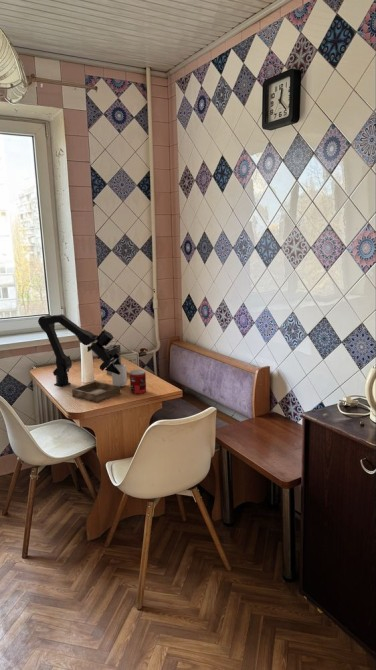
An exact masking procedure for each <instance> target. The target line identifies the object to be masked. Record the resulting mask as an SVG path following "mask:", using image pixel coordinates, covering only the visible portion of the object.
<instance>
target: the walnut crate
mask: <svg viewBox="0 0 376 670" xmlns="http://www.w3.org/2000/svg"><path fill="white" fill-rule="evenodd" d="M120 395H121V386H115V385H113V384H110V383H107V382H101V381H97V380H94V381H92V382H89V383H85V384H83V385H80V386H77V387H73V388H71V396H72V398H76V399H80V400H84V401H88V402H90V403H91V402H92V403H95V404H98V403H101V402H105V401H106V400H109V399H111V398H114V397H117V396H120Z"/></svg>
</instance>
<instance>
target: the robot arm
mask: <svg viewBox="0 0 376 670" xmlns="http://www.w3.org/2000/svg"><path fill="white" fill-rule="evenodd" d="M37 323H38V325H39V326H40V328H41V330H42V331H43V332H45V334H46V337H47V339H48V341H49V344H50V346H51V349H52V351H53V353H54V356H55V366H56V368H55V369H54V370H53V371H52V373H53V376H55V382H56V383H54V386H57V387H65V386H67V385H70V384H71V382H69V374H68V373H69V372H70V369H71V368H72V366H73V361H72V360H71V357H70V355H68V356H67V355H66V354H65V353H64V350H63V346H62V344H61V342H60V340H59V337H58V335H57V332H56V329H55V327H56V326H55V325H56V324H57V323H59V324H60V325H61V326H63V327H64V328H65V329H67V330H68V331H69V332H70V333H72V334H73V335H74V336H76V337H77V340H78V341H79V342H80V343H81V344H82V345H84V346H86V347H87V352H88V353H89V352H93V353H94V354H95V355H96V357H97V359H98V360H99V359H100V361H102V363H101V364H100V365H99V369H100V371H102V372H103V371H104V370H105V371H106V372H107V371H110V372H113V373H115V374H118V375H119V374H120V372H119V371H118V369H117V368H116V367H115V366H114V365H122V362H121V363H120V356H121V357H122V353H121V354H120V353H119V352H122V351H121V346H120V347H119V346H117V345H118V344H114V345H115V346H113V349H111V350H109V349H105V348H106V347H108V346H109V344H110V343H111V342H112V341H113V339H114V336H113V334H112V333H111V332H108V331H106V330H105V329H104V330H102V331H101V332H100V333H99V334H97V335H96V334H94V333H93V332H90V331H89V330H87V329H83V328H81V327H80V326H78V325H77V324H76V323H75V322H73V321H72V320H71V319H69V318H68V317H67V316H65V315H64V314H63V313H61V314H60V313H59V314H55V315H50V314H44V315H41V316H40V317H39V318H38V320H37ZM90 344H91V345H90Z"/></svg>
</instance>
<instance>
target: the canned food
mask: <svg viewBox="0 0 376 670" xmlns="http://www.w3.org/2000/svg"><path fill="white" fill-rule="evenodd" d="M146 378H147V377H146V370H145V369H144V370H143V369H133V370H131V371H129V383H130V384H129V385H130V393H131V394H132V395H144V394H146V393H147V379H146Z"/></svg>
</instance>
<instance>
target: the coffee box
mask: <svg viewBox="0 0 376 670" xmlns="http://www.w3.org/2000/svg"><path fill="white" fill-rule="evenodd" d="M115 345H117V346H119V347H120V348H121V344H110V345H107V346H105V347H104V348H105V349H109V350H111V349H113V346H115ZM121 352H122V351H121ZM121 352H119V353H120V354H121V356H120V363H121V364H122V353H121ZM106 375H109V376H112V372H110V371H107V370H106Z"/></svg>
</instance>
